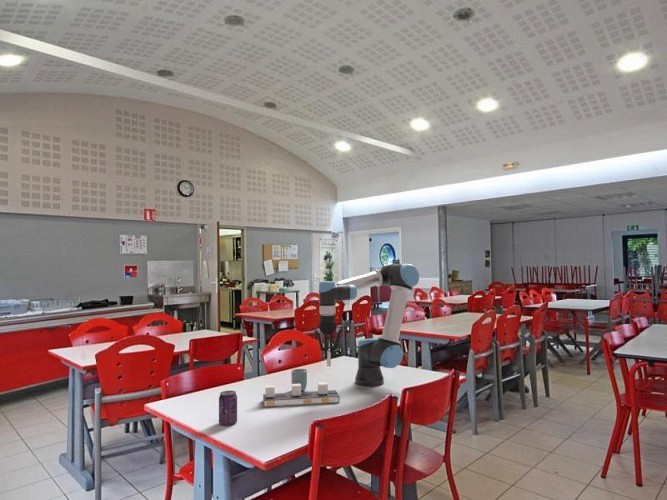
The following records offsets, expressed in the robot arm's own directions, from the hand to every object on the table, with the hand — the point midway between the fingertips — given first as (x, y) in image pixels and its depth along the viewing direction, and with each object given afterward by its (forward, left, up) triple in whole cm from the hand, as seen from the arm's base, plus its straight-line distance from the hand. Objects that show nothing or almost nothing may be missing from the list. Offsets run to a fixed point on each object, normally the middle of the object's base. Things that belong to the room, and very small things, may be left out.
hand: (328, 365), depth 208 cm
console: (+13, 0, -16) cm, 21 cm away
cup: (+12, -19, -16) cm, 28 cm away
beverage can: (+44, +23, -16) cm, 52 cm away
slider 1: (+27, 0, -12) cm, 30 cm away
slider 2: (+15, 0, -12) cm, 19 cm away
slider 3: (+3, 0, -12) cm, 13 cm away
